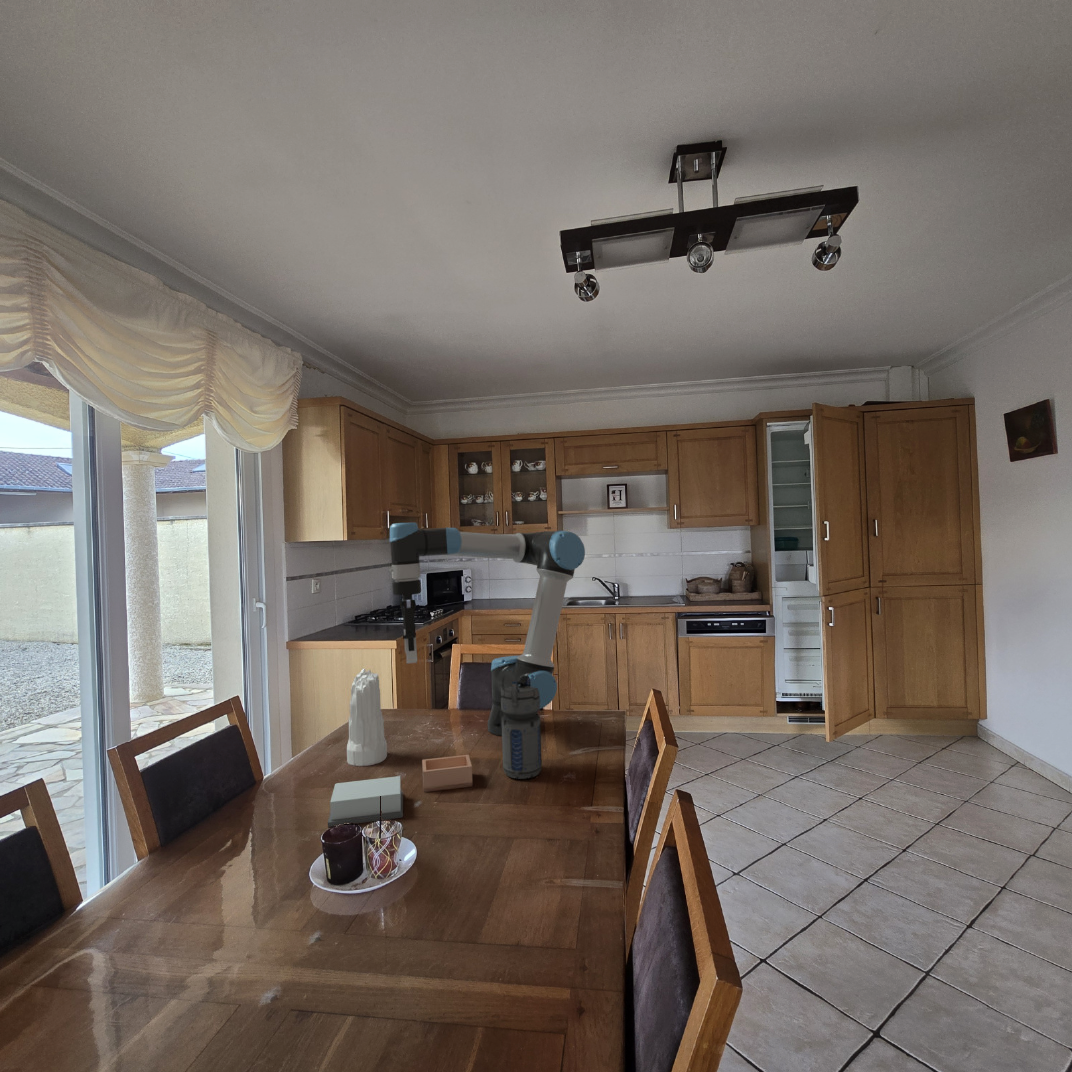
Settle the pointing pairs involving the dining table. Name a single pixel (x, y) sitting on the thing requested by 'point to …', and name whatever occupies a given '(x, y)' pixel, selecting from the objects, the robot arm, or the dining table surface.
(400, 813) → the mat
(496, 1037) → the dining table surface
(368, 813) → the board
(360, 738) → the white ridged column
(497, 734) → the robot arm
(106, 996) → the dining table surface
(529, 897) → the dining table surface
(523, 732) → the beverage bottle
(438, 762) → the brown open box
